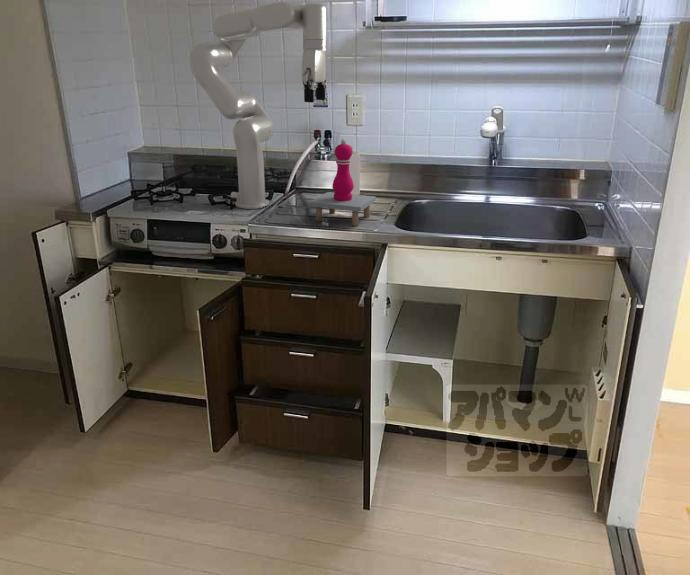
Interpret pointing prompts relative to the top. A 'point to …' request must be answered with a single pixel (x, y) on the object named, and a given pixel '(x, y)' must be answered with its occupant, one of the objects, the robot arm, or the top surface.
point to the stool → (343, 205)
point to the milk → (355, 171)
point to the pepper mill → (343, 173)
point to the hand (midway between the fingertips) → (314, 101)
